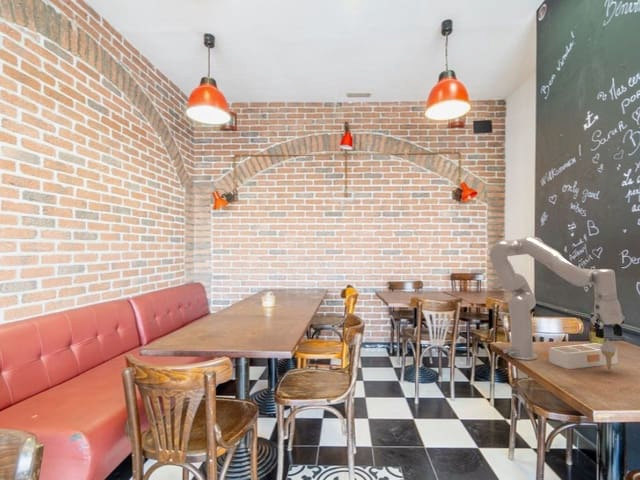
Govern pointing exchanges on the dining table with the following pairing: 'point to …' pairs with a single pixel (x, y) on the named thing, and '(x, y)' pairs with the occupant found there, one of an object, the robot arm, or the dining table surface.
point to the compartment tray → (579, 356)
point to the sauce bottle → (593, 334)
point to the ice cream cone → (608, 352)
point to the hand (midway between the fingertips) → (609, 336)
